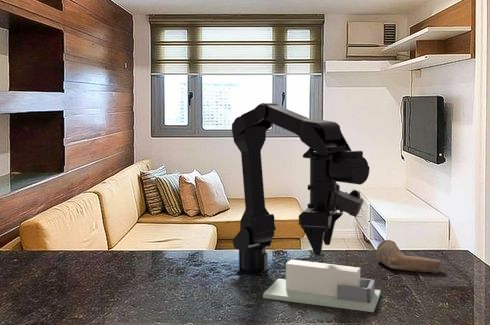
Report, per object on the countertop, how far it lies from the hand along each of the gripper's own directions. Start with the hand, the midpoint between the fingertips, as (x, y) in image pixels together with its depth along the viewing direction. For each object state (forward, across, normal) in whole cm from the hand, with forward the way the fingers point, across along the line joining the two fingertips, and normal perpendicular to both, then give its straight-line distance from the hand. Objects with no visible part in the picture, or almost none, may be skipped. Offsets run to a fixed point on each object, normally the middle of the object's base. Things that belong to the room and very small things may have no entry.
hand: (322, 249), depth 118 cm
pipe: (+11, +29, -16) cm, 35 cm away
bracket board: (+11, 0, 0) cm, 11 cm away
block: (+10, 0, 0) cm, 10 cm away
